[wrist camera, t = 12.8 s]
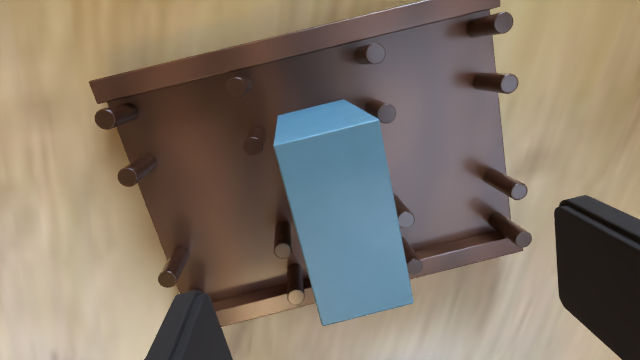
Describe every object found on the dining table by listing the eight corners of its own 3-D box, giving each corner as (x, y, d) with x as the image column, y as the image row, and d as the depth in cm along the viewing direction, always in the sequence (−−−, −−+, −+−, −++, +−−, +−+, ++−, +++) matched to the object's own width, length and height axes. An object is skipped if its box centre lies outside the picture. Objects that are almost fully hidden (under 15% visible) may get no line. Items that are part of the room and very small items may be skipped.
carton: (277, 115, 23) (272, 145, 15) (344, 98, 23) (379, 118, 15) (309, 238, 26) (322, 327, 17) (370, 223, 26) (414, 303, 17)
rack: (195, 313, 28) (179, 358, 23) (107, 79, 23) (68, 83, 19) (503, 235, 28) (542, 266, 24) (477, -10, 23) (520, -26, 19)
